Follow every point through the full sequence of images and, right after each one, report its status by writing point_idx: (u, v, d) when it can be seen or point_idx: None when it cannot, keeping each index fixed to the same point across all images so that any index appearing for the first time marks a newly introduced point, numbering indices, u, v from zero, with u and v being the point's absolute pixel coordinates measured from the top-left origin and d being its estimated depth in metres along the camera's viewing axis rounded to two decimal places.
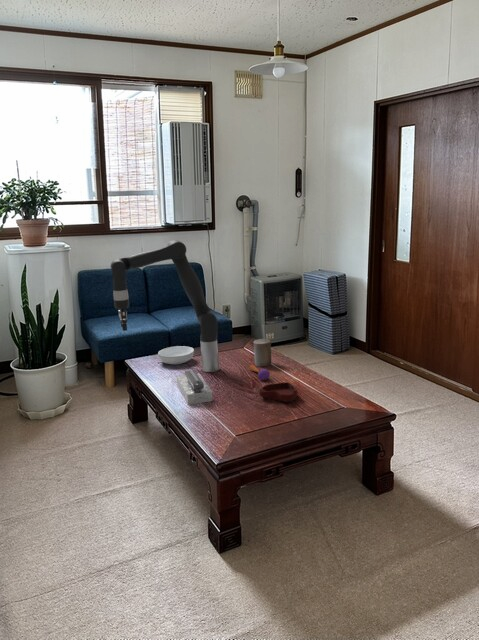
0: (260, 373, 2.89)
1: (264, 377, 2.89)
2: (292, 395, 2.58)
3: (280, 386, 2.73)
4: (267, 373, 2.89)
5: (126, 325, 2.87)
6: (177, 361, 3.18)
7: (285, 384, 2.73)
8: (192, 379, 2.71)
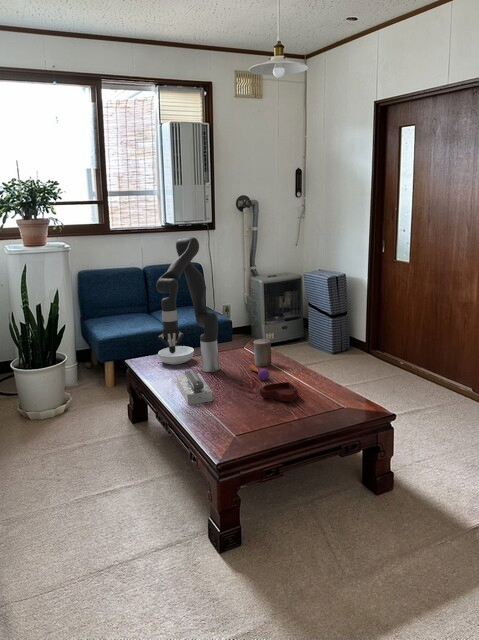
0: (260, 373, 2.90)
1: (264, 377, 2.89)
2: (292, 395, 2.59)
3: (280, 386, 2.73)
4: (267, 373, 2.90)
5: None
6: (177, 361, 3.18)
7: (285, 384, 2.73)
8: (192, 379, 2.71)
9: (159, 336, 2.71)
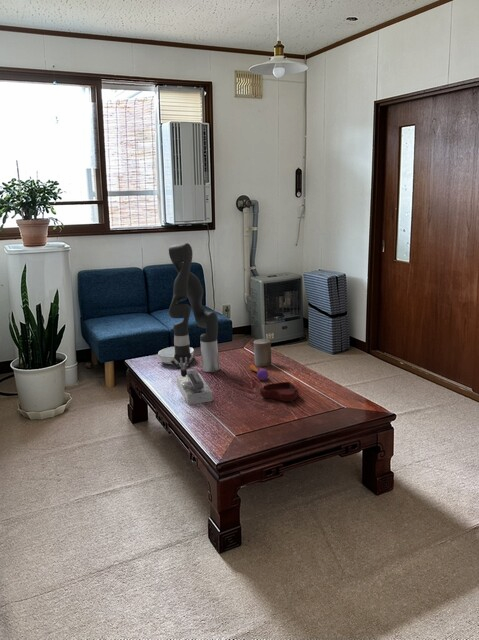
0: (259, 373, 2.90)
1: (262, 377, 2.89)
2: (293, 394, 2.59)
3: (280, 386, 2.74)
4: (266, 373, 2.89)
5: None
6: (177, 361, 3.18)
7: (285, 383, 2.74)
8: (192, 379, 2.71)
9: (171, 360, 2.76)
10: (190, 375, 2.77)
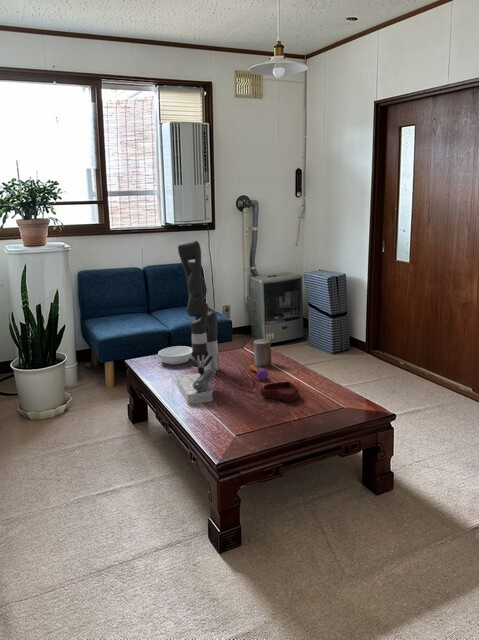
0: (258, 373, 2.90)
1: (262, 377, 2.89)
2: (293, 394, 2.59)
3: (281, 385, 2.74)
4: (265, 373, 2.90)
5: None
6: (177, 361, 3.18)
7: (286, 383, 2.74)
8: None
9: (188, 357, 2.78)
10: (203, 374, 2.77)
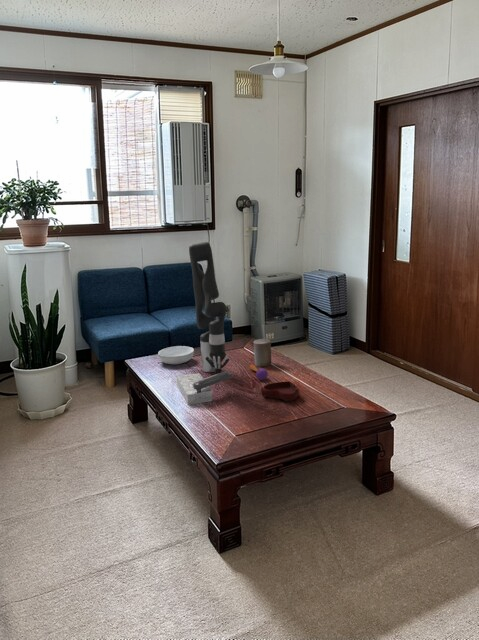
0: (258, 373, 2.90)
1: (262, 377, 2.89)
2: (293, 394, 2.60)
3: (281, 385, 2.74)
4: (265, 373, 2.90)
5: None
6: (177, 361, 3.18)
7: (286, 383, 2.74)
8: None
9: (206, 357, 2.78)
10: None
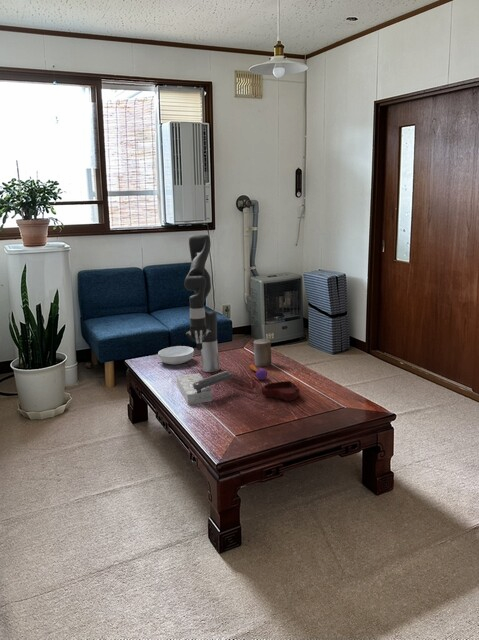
0: (257, 373, 2.90)
1: (261, 377, 2.89)
2: (294, 393, 2.60)
3: (282, 385, 2.75)
4: (264, 373, 2.90)
5: None
6: (177, 361, 3.18)
7: (287, 383, 2.75)
8: None
9: (186, 333, 2.74)
10: None
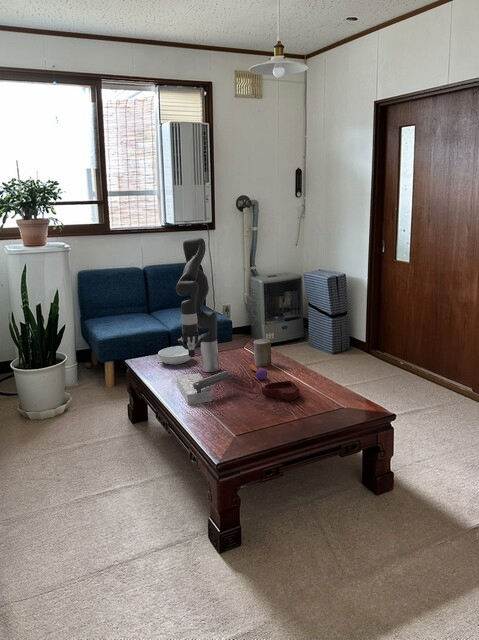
0: (257, 373, 2.90)
1: (261, 377, 2.89)
2: (294, 393, 2.60)
3: (282, 385, 2.75)
4: (264, 373, 2.90)
5: None
6: (177, 361, 3.18)
7: (287, 382, 2.75)
8: None
9: (178, 339, 2.67)
10: None
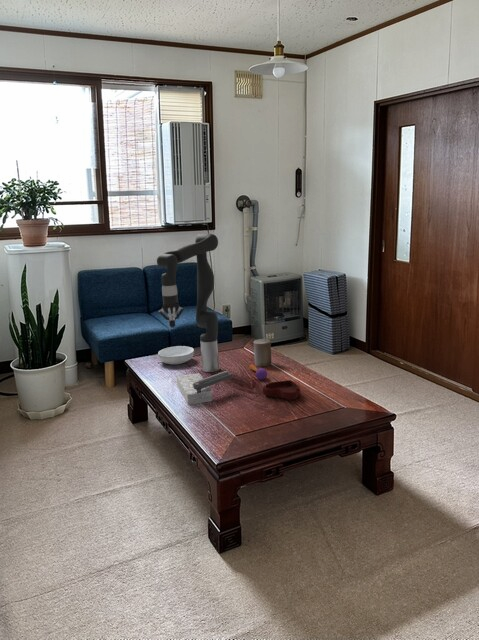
0: (257, 372, 2.90)
1: (261, 377, 2.90)
2: (295, 393, 2.61)
3: (283, 384, 2.75)
4: (264, 373, 2.90)
5: None
6: (177, 361, 3.18)
7: (288, 382, 2.76)
8: None
9: (159, 310, 2.79)
10: None
